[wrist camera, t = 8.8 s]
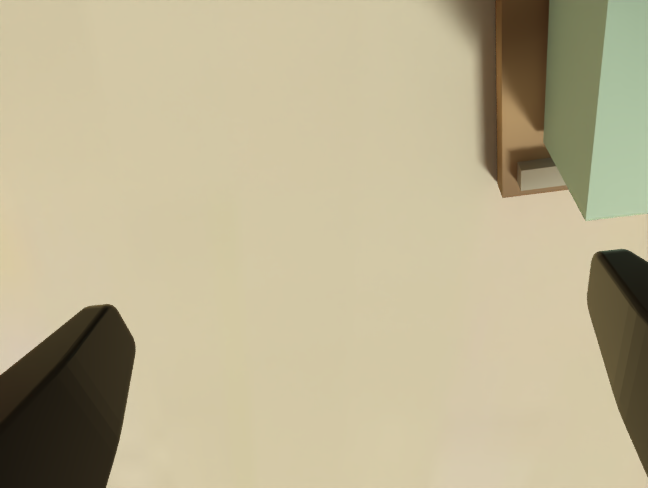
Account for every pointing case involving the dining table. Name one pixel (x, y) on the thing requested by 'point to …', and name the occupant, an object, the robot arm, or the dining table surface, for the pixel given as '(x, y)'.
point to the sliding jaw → (599, 103)
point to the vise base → (522, 99)
